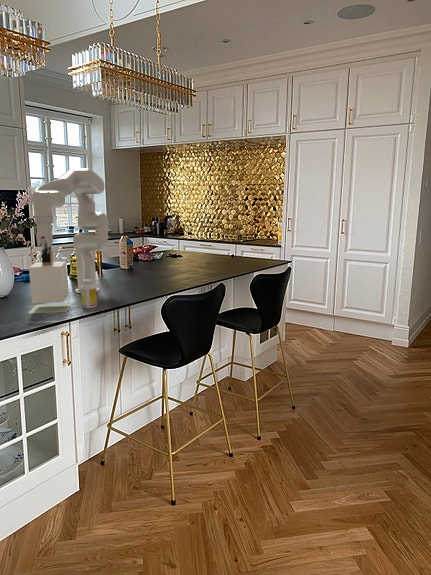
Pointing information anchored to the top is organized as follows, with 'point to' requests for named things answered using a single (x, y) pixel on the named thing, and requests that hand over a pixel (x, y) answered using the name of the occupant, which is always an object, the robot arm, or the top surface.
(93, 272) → the robot arm
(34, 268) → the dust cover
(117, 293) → the top surface
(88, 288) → the supplement bottle
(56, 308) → the mat
